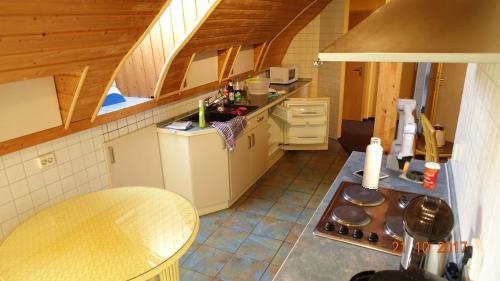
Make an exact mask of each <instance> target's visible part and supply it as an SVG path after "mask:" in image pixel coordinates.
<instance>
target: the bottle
mask: <svg viewBox="0 0 500 281" xmlns="http://www.w3.org/2000/svg"><path fill="white" fill-rule="evenodd" d="M383 151H384V147H382V146H381V138H379V137H371V139H370V144H368V145H367V146H366V150H365V157H364V167H363V176H362V181H361V182H362V183H361V187H362V186H363V187H365V188H369V189H377V190H378V188H379V187H378V186H379V181H380V180H379V179H380V173H381V166H382V159H383V158H382V157H383Z"/></svg>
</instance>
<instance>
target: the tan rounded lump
mask: <svg viewBox="0 0 500 281" xmlns="http://www.w3.org/2000/svg"><path fill="white" fill-rule="evenodd" d="M409 165H410V163H409V162H408V161H406V163H405V166H404V169H403V170H401V169H399V168H398V171H397V172H400V173H402V174H403V173H406V172H408V170H409V167H410V166H409Z"/></svg>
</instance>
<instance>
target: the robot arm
mask: <svg viewBox="0 0 500 281" xmlns="http://www.w3.org/2000/svg"><path fill="white" fill-rule="evenodd" d="M416 105H417V101H416V99H414V98H413V99H410V98H398V99H397V100H396V108H395V109H396V112H397V113H398V114H399V117H398V118H399V119H398V125H397V126H398V127H397V133H396V134H397V135H396V139H394V140H393V141H392V142H391V144H390V153H388V155H387V158H386V163H385V164H386V166H385V168H387V169H391V170H393V171H397V172H399V171H398V168H399V169H401V170H403V169H404V166H405V163H406V161H408V162H409V164H410V163H411V161H412V159H413V158H414V150H413V145H414V139H415V135H416V134H417V129H418V127H417V123H415V117H414V115H413V113H414V110H415V109H416Z"/></svg>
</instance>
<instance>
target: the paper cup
mask: <svg viewBox="0 0 500 281" xmlns="http://www.w3.org/2000/svg"><path fill="white" fill-rule="evenodd" d="M440 169H441V166H440V164H439V163H437V162H434V161H433V162H432V161H428V162H427V161H426V162H425V164H424V171H423V172H424V181H423V184H422V187H423V188H424V189H426V190H434V189H435V187H436V184H437V183H436V182H437V179H438V177H439V176H438V175H439V172H440Z"/></svg>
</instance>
